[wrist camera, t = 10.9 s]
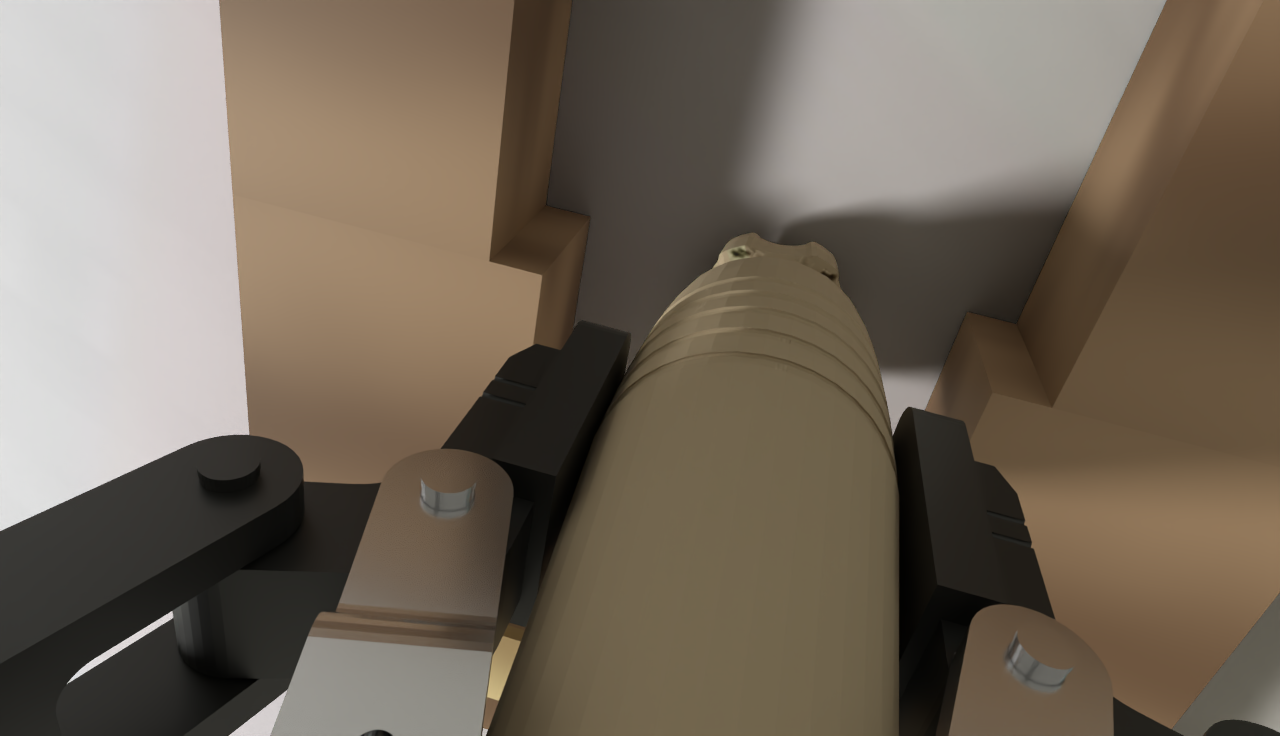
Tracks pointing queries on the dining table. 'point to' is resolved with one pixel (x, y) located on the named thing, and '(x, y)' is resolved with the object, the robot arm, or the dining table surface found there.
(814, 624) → the handle
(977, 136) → the dining table surface
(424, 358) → the square wooden frame
